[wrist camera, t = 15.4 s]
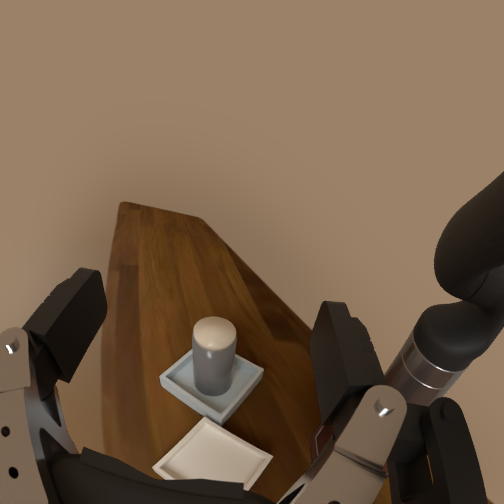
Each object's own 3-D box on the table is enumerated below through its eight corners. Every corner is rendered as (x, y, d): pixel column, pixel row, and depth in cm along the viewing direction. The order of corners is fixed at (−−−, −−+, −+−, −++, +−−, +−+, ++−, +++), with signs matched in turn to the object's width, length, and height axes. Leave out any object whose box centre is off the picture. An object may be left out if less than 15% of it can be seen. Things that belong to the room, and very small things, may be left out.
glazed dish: (261, 378, 41) (264, 369, 40) (221, 427, 32) (221, 419, 31) (206, 346, 45) (206, 336, 44) (161, 385, 37) (159, 376, 35)
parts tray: (270, 460, 28) (273, 456, 27) (225, 518, 20) (226, 517, 19) (204, 422, 32) (204, 416, 31) (154, 471, 24) (152, 467, 23)
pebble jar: (238, 378, 39) (246, 328, 34) (216, 402, 35) (219, 354, 30) (208, 361, 42) (210, 309, 36) (186, 382, 37) (182, 331, 32)
